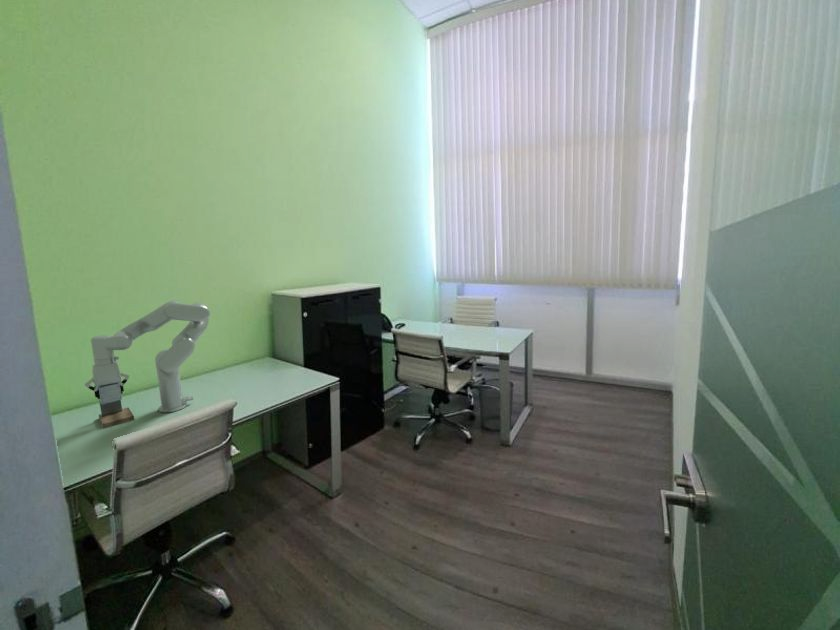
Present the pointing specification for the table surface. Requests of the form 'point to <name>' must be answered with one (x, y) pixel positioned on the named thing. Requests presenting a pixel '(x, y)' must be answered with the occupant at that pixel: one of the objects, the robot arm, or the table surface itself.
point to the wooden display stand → (114, 414)
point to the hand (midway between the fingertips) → (110, 395)
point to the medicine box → (109, 393)
